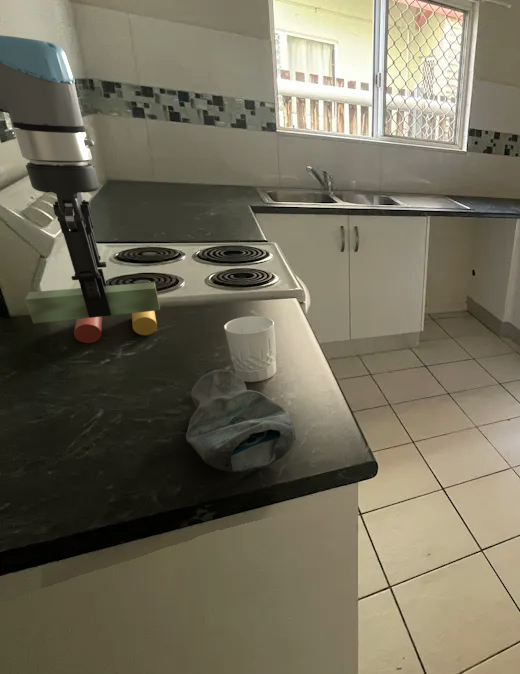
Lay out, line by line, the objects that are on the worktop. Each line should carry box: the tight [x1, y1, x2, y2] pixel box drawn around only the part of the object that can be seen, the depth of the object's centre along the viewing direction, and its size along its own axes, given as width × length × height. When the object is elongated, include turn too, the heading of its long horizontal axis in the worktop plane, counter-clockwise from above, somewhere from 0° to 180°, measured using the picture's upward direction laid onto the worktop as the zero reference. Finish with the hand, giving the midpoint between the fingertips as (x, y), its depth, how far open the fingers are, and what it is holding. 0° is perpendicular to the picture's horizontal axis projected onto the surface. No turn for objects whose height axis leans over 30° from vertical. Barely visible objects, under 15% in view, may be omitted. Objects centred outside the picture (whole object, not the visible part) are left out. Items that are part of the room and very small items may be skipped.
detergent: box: [185, 368, 297, 473], centre depth 71 cm, size 13×7×25 cm
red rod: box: [73, 316, 103, 344], centre depth 96 cm, size 12×4×4 cm, turn 37°
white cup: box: [223, 315, 277, 383], centre depth 86 cm, size 8×8×10 cm
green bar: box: [24, 281, 161, 325], centre depth 78 cm, size 16×4×4 cm, turn 126°
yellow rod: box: [131, 311, 158, 336], centre depth 101 cm, size 12×4×4 cm, turn 37°
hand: (100, 311), depth 78 cm, fingers closed on green bar, 3 cm apart
